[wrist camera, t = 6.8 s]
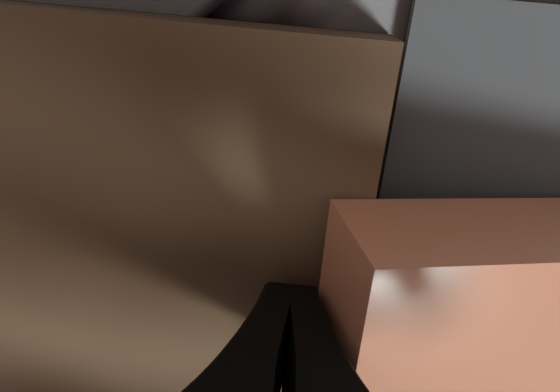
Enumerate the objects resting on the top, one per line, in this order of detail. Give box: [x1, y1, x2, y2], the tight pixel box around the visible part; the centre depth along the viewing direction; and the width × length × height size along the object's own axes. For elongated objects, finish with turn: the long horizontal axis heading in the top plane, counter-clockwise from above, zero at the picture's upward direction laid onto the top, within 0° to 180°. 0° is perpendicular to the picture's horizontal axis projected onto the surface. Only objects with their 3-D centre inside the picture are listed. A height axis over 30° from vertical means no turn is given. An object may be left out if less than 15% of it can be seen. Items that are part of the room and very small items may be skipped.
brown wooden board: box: [0, 0, 404, 392], centre depth 14 cm, size 14×12×2 cm
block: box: [318, 198, 560, 392], centre depth 12 cm, size 6×8×3 cm
